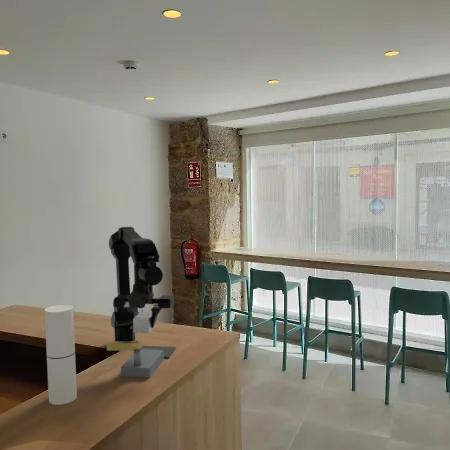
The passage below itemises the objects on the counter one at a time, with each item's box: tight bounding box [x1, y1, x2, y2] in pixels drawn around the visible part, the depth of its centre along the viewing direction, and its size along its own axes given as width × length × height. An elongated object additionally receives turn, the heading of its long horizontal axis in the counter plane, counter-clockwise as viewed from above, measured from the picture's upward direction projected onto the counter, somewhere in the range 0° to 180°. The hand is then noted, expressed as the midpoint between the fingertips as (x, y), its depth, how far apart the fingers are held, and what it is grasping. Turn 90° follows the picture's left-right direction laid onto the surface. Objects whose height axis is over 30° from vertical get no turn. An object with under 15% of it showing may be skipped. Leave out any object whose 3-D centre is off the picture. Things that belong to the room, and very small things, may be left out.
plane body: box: [120, 349, 165, 379], centre depth 140 cm, size 9×15×8 cm, turn 172°
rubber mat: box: [141, 345, 176, 359], centre depth 153 cm, size 12×9×1 cm
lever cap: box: [133, 311, 157, 334], centre depth 141 cm, size 5×7×4 cm
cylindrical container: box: [44, 304, 78, 406], centre depth 119 cm, size 7×7×25 cm
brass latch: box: [106, 340, 142, 352], centre depth 134 cm, size 3×10×2 cm, turn 89°
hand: (144, 327), depth 141 cm, fingers closed on lever cap, 5 cm apart
